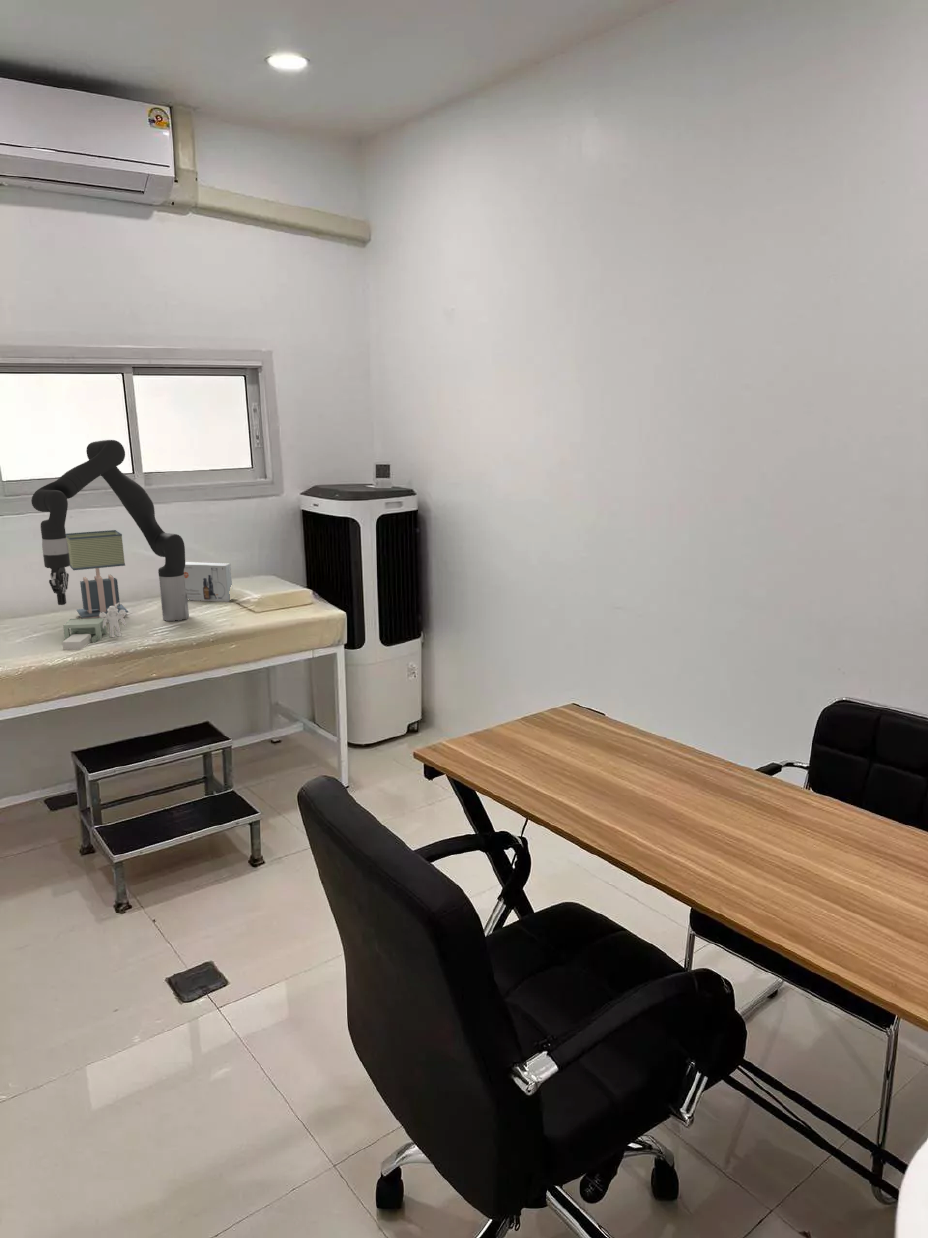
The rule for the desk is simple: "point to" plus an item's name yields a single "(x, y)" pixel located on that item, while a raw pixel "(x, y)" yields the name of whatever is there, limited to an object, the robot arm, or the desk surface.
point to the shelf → (85, 627)
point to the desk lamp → (97, 569)
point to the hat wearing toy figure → (113, 619)
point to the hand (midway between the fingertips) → (62, 604)
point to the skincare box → (207, 581)
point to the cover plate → (77, 641)
